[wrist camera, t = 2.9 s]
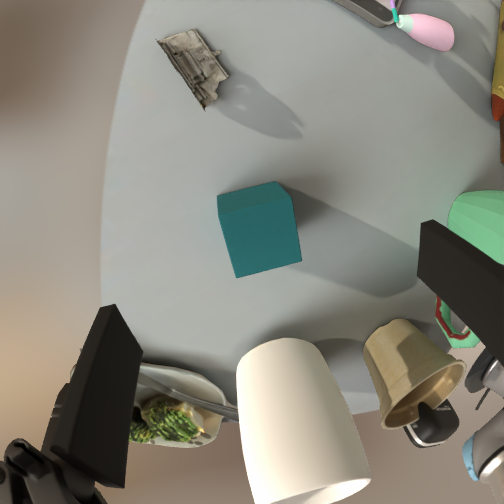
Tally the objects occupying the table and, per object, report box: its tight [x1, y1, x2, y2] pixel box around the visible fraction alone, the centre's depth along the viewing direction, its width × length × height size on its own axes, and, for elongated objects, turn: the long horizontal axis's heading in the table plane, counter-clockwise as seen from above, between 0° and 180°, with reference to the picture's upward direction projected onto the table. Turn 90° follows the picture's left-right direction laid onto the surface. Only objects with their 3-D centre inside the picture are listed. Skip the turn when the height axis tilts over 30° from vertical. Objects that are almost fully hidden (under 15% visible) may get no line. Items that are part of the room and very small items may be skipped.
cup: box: [236, 338, 372, 504], centre depth 19 cm, size 8×8×14 cm
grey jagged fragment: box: [157, 29, 229, 110], centre depth 14 cm, size 6×2×3 cm
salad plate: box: [70, 349, 239, 448], centre depth 25 cm, size 19×18×5 cm
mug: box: [435, 190, 504, 348], centre depth 18 cm, size 15×10×10 cm
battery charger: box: [403, 399, 459, 448], centre depth 25 cm, size 7×4×11 cm, turn 65°
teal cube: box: [217, 181, 302, 278], centre depth 18 cm, size 4×4×4 cm
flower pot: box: [363, 319, 466, 430], centre depth 23 cm, size 9×9×9 cm
